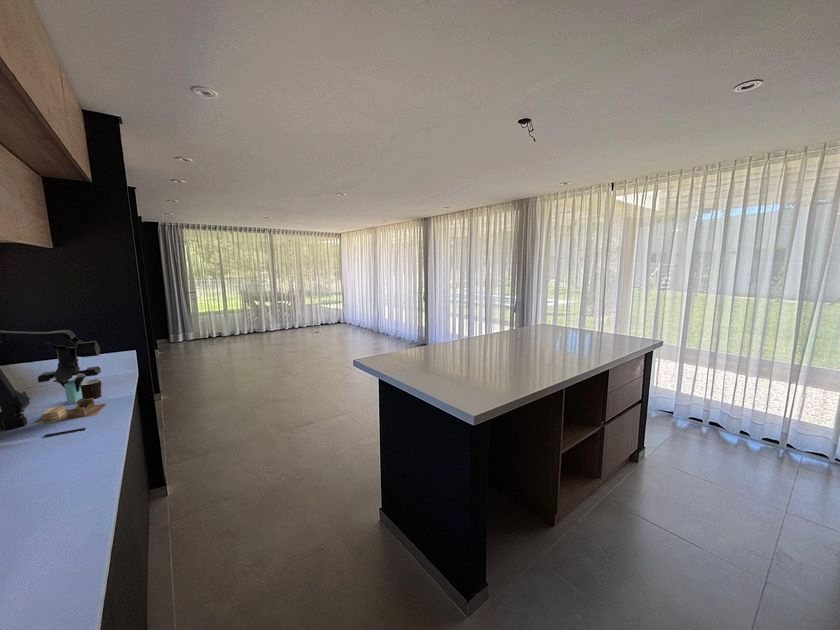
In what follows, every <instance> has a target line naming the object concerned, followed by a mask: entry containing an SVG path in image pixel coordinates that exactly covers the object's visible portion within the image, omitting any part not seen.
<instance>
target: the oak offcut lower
mask: <svg viewBox="0 0 840 630" xmlns="http://www.w3.org/2000/svg"><path fill="white" fill-rule="evenodd" d="M65 413H66V408H65V409H64V410H63V411H62V412H61V413H60V414H59V415H55V416H49V417H42V418H43V421H46V420H52V419H58V418H60V417H61V416H62V415H63V414H65Z"/></svg>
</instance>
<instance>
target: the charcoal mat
mask: <svg viewBox="0 0 840 630" xmlns="http://www.w3.org/2000/svg"><path fill="white" fill-rule="evenodd" d="M85 429H86V427H81V428H76V429H71V430H65V431H64V430H63V431H58V432H53V433H47V434H45V435H43V436H42V438H43V439H45V438H51V437H57V436H62V435H68V434H74V433H79V432H78V431H80V432H84V431H85Z"/></svg>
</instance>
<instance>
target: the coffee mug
mask: <svg viewBox="0 0 840 630" xmlns="http://www.w3.org/2000/svg"><path fill="white" fill-rule="evenodd" d="M81 391H82V397H81V399H82V400H84V399H91V398H93V399H94V400H95V399H99V398H101V397H102V378H91V379H86V380H83V381H82V384H81Z"/></svg>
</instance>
